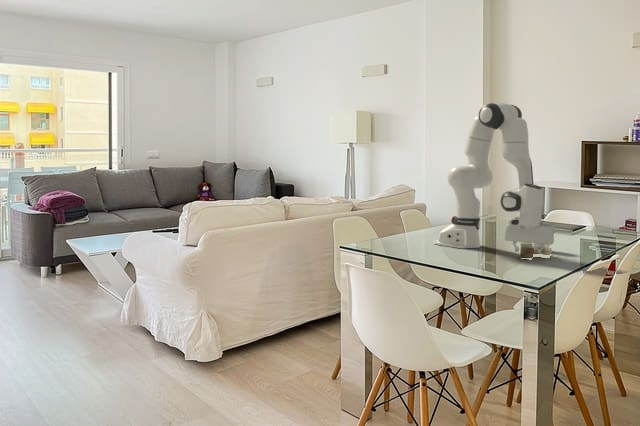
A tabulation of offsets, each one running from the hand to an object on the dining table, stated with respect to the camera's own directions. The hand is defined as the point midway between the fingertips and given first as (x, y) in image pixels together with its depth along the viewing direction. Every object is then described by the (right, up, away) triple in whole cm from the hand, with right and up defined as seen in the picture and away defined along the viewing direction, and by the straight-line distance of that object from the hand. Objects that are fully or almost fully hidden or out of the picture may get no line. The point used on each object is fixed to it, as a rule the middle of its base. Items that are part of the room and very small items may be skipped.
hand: (528, 252), depth 242 cm
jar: (+14, -1, +23) cm, 27 cm away
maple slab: (+9, -3, +8) cm, 12 cm away
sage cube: (+4, -1, +14) cm, 15 cm away
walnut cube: (0, -3, +1) cm, 3 cm away
